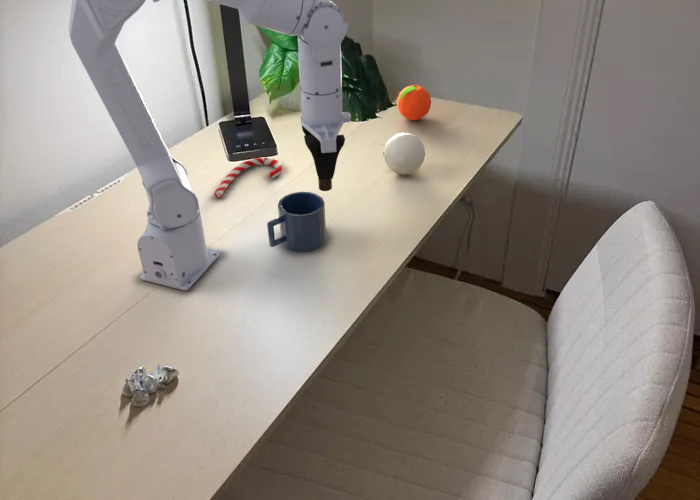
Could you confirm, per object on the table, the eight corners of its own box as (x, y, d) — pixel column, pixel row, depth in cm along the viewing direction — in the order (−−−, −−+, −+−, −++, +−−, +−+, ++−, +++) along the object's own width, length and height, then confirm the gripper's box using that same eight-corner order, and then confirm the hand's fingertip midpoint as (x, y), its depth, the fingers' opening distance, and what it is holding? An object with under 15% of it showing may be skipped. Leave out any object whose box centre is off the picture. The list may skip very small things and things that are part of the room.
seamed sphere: (433, 171, 122) (435, 134, 117) (405, 186, 118) (406, 148, 113) (392, 153, 128) (393, 117, 123) (364, 167, 123) (364, 130, 119)
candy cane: (200, 187, 116) (255, 152, 126) (201, 194, 117) (256, 158, 127) (235, 199, 113) (289, 162, 123) (236, 206, 113) (289, 168, 123)
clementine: (409, 130, 135) (410, 96, 131) (385, 119, 140) (386, 86, 135) (437, 118, 139) (439, 85, 135) (413, 108, 144) (414, 76, 140)
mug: (308, 221, 109) (306, 186, 105) (334, 240, 105) (333, 204, 101) (258, 243, 104) (254, 208, 101) (283, 264, 100) (280, 228, 96)
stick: (328, 192, 101) (327, 150, 97) (316, 190, 102) (314, 148, 98) (334, 185, 103) (332, 144, 99) (321, 183, 103) (320, 142, 99)
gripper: (358, 106, 87) (359, 196, 95) (342, 66, 99) (344, 149, 107) (303, 110, 87) (309, 201, 95) (294, 69, 98) (299, 153, 106)
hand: (324, 174), depth 101 cm, fingers closed on stick, 2 cm apart
